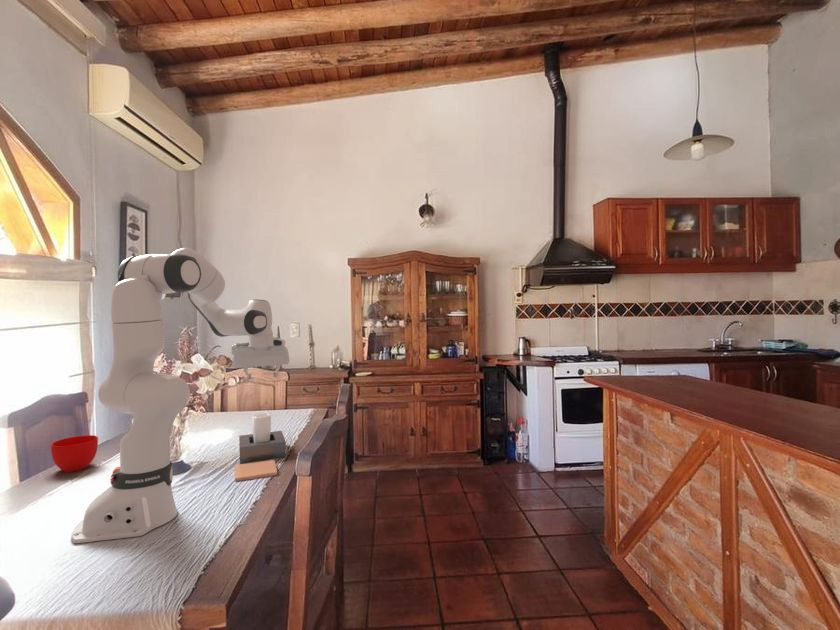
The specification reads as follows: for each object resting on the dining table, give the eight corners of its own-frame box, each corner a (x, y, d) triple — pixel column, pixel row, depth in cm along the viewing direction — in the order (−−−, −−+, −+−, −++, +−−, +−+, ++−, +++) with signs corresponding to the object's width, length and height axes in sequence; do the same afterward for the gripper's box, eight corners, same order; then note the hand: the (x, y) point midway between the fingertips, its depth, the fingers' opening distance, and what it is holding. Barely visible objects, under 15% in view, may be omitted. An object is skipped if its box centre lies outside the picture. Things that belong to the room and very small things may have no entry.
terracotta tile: (235, 481, 137) (235, 478, 137) (235, 467, 149) (235, 465, 149) (277, 474, 142) (277, 471, 142) (274, 462, 154) (274, 459, 154)
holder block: (239, 464, 152) (239, 447, 152) (239, 450, 167) (239, 435, 167) (286, 457, 159) (285, 441, 159) (281, 445, 173) (281, 430, 173)
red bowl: (107, 456, 162) (107, 430, 162) (90, 472, 146) (89, 443, 146) (66, 461, 157) (65, 434, 157) (43, 478, 141) (43, 448, 141)
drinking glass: (248, 455, 162) (248, 416, 161) (262, 450, 168) (262, 412, 167) (261, 458, 158) (260, 418, 158) (275, 452, 164) (274, 414, 164)
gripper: (230, 344, 155) (232, 381, 155) (288, 341, 162) (290, 376, 163) (231, 342, 161) (233, 378, 161) (287, 339, 168) (289, 374, 169)
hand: (262, 377), depth 162 cm, fingers open, 8 cm apart
